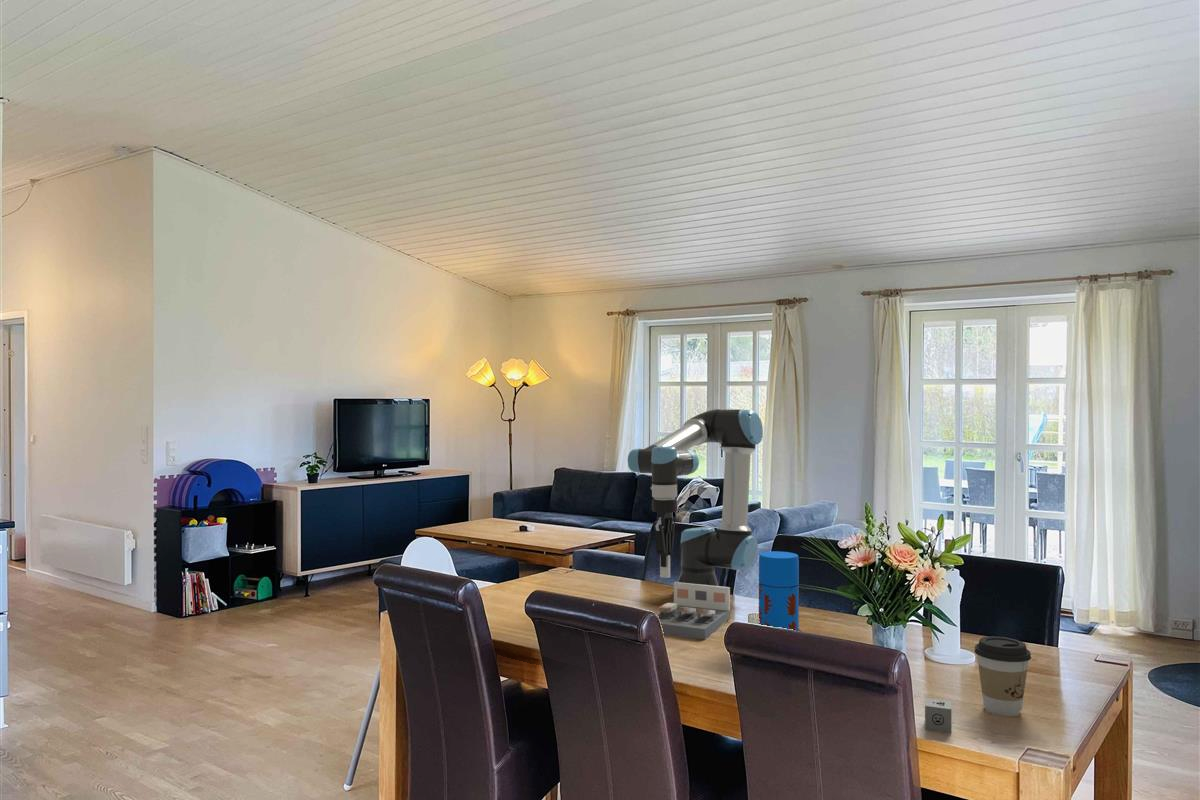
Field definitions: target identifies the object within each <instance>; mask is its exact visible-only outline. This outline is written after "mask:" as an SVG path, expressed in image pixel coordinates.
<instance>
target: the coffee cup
mask: <svg viewBox="0 0 1200 800" xmlns="http://www.w3.org/2000/svg"><path fill="white" fill-rule="evenodd" d="M973 651H974V654H976V656H977V664H978V671H979V679H980V686H981V693H982V694H981V695H982V702H983V706H984V710H985V711H986V712H987V713H990V714H992V715H994V716H1000V717H1007V718H1008V717H1009V718H1013V717H1017V716H1020V714H1021V711H1022V710H1023V703H1024V702H1023V701H1024V695H1025V688H1026V680H1027V675H1028V674H1027V673H1028V667H1029V661H1030V660H1031V659H1032V654H1031V651H1030V650H1029V649H1027V645H1026V643H1025V642H1023V641H1021V640H1018V639H1016V638H1011V637H1006V636H995V635H994V636H984V637H981V638H980V639H978V643H976V644H975V645H974V650H973Z"/></svg>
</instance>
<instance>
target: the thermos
mask: <svg viewBox="0 0 1200 800" xmlns="http://www.w3.org/2000/svg"><path fill="white" fill-rule="evenodd" d="M799 565H800V562H799V555H798V554H797V553H795V552H789V551H778V550H777V551H775V550H774V551H771V550H770V551H764V552H760V553H759V557H758V625H759V624H761V625H767V626H773V627H782V628H787V629H793V630H796V631H800V630H799V629H800V627H799V625H800V624H799V623H800V622H799V621H800V620H799V619H800V618H799V613H800V610H799V609H800V608H799V607H800V605H799V604H800V603H799V602H800V601H799V598H800V597H799V595H800V593H799V591H800V590H799V589H800V587H799V586H800V585H799V583H800V581H799V579H800V574H799V573H800V572H799V571H800V570H799V569H800V568H799V567H800V566H799ZM759 619H760V620H759ZM759 621H760V623H759Z"/></svg>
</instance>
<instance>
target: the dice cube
mask: <svg viewBox="0 0 1200 800" xmlns="http://www.w3.org/2000/svg"><path fill="white" fill-rule="evenodd" d="M924 730H926V731H933V732H939V733H946V732H947V734H952V700H947V699H946V700H945V699H938V698H932V697H931V698H929V697H927V698H926V697H925V703H924Z"/></svg>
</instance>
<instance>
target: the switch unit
mask: <svg viewBox="0 0 1200 800" xmlns="http://www.w3.org/2000/svg"><path fill="white" fill-rule="evenodd" d="M673 603H676V604H677V608H676V609H673V610H672V611H670V612H668V613H667V612H659V613H658V614H657V615H658V616H659V619H660V622H661V625H662V628H663V632H664V634H663V635H666V636H667V635H668V636H673V635H674V636H675V637H680V636H681V637H682V638H688V637H689V639H696V638H697V639H698V640H703V639H704V641H705V640H707V639H708V638H709V637H710V636H712V635H713V634H714V633H715V632H716V630H717V629H718V628H719V627H720V626H721V625H722V624H723V623H724V622H726V621H727V620H729V619H730V620H731V617H730V616H731V609H730V608H731V587H729V586H722V585H721V586H720V585H719V586H711V585H701V584H691V583H681V582H678V581H674V582H673ZM678 607H688V608H696V611H693V612H683V611H678ZM697 609H705V610H714V611H715V613H712V615H711V614H700V613H697ZM730 620H729V621H730ZM726 623H727V622H726ZM721 627H722V626H721ZM721 627H720V628H721ZM720 628H719V629H720ZM719 629H718V630H719ZM718 630H717V631H718ZM713 632H714V633H713ZM712 633H713V634H712ZM711 634H712V635H711ZM706 638H707V639H706ZM697 639H696V640H697Z"/></svg>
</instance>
